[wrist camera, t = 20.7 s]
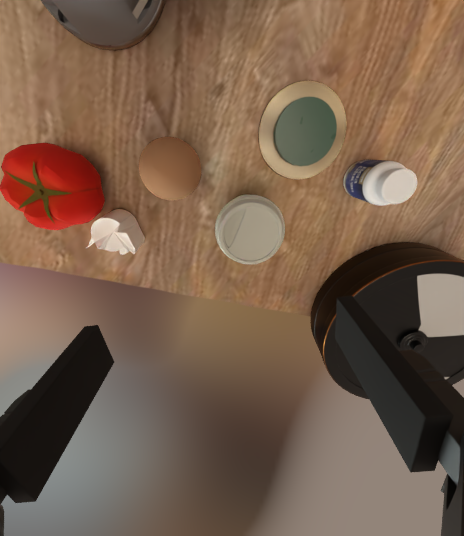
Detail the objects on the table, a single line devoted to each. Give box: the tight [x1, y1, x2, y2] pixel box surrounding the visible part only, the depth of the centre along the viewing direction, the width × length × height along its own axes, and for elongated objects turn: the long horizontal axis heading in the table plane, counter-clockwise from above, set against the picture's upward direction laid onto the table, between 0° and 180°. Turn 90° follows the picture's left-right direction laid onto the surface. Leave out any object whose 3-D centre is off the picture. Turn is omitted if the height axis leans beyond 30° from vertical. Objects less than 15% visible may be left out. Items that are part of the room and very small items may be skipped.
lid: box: [273, 96, 337, 166], centre depth 34 cm, size 8×8×2 cm
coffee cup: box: [215, 194, 285, 264], centre depth 34 cm, size 9×8×12 cm
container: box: [311, 242, 464, 399], centre depth 43 cm, size 28×28×10 cm
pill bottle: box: [344, 160, 417, 206], centre depth 33 cm, size 5×5×10 cm
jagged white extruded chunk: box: [86, 209, 145, 255], centre depth 38 cm, size 8×7×7 cm
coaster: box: [258, 81, 346, 179], centre depth 35 cm, size 12×12×1 cm
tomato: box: [0, 143, 105, 230], centre depth 34 cm, size 11×12×9 cm
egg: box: [139, 137, 201, 200], centre depth 32 cm, size 8×8×11 cm
